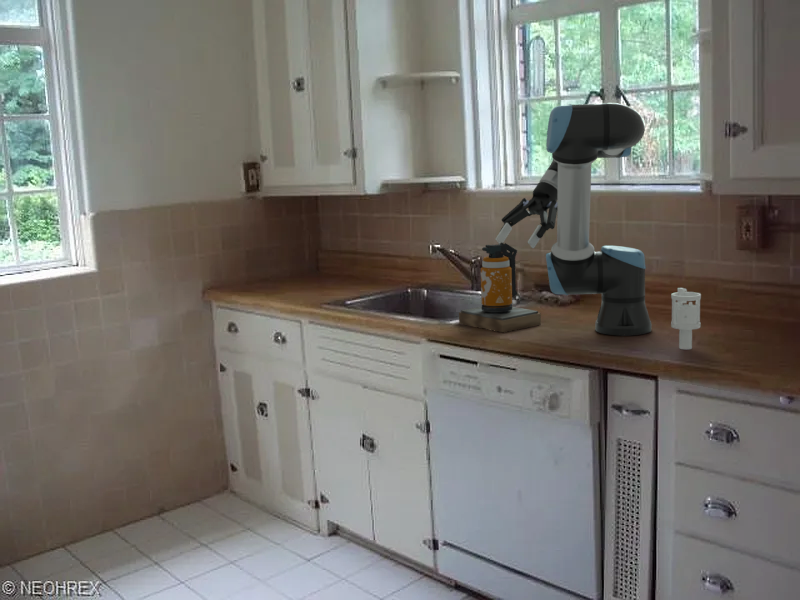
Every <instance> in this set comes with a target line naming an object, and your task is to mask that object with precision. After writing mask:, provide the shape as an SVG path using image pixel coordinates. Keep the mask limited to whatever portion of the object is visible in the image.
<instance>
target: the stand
mask: <svg viewBox="0 0 800 600" xmlns="http://www.w3.org/2000/svg"><path fill="white" fill-rule="evenodd" d="M541 315H542V314H541V312H539V311H538V310H533V309H528V308H522V307H516V306H512V310H509V311H508V312H505V313H487V312H486V311H483V310H482V306H479V307H478V306H477V307H472V308H467V309H462V310H461V311H460V312H458V324H459V325H463V326H464V325H465V326H469V327H473V328H477V327H479V329H482V328H486V329H485V330H487V329H491V330H490V331H492V330H495V331H494V332H497V331H500V332H499V333H501V332H504V333H508V332H507V331H509V332H513V331H512V330H514V331H518V330H523V329H527V328H531V327H536V326H540V325H542V319H541V317H542V316H541ZM517 329H518V330H517Z"/></svg>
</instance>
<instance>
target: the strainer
mask: <svg viewBox="0 0 800 600" xmlns="http://www.w3.org/2000/svg"><path fill="white" fill-rule="evenodd" d="M670 296H671V297H670V299H671V323H670V327H671V328H672V329H675V330H679V331H678V332H679V333H678V340H679V341H678V343H679V344H678V347H679V348H678V349H679V350H680V349H681V350H687V351H688V350H692V349H693V330H698V329H700V328H701V299H702V294H701V292H694V291H688V289H687V288H684V287H677V292H673V293H671V295H670ZM694 301H695V303H694V304H693V302H694ZM687 303H688V304H687Z"/></svg>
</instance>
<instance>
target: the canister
mask: <svg viewBox="0 0 800 600" xmlns="http://www.w3.org/2000/svg"><path fill="white" fill-rule="evenodd" d="M481 250H482V251H483V252H485V253H486V254H488V255H487V256H484V257H483V258H482V260H481V261H482V262H481V265H482V267H481V268H480V297H481V300H480V301H481V302H480V303H481V307H482V310H483V311H486V312H487V313H505V312H508V311H509V310H512V307H513V298H515V297H516V295H517V294H518V292H517V290H516V289H517V287H516V282H517V281H516V268H517V266H516V256H517V253H518V250H517V249H516V248H514V247H512V246H511V245H509V244H508V243H506V242H505V243H504V242H503V243H502V242H501V243H500V244H499V243H498V244H486V245H485V246H483V247H482V248H481Z"/></svg>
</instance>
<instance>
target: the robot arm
mask: <svg viewBox="0 0 800 600" xmlns="http://www.w3.org/2000/svg"><path fill="white" fill-rule="evenodd" d="M547 124H548V125H547V131H546V141H545V142H546V152H548V153H550V154H551V159H552V161H551V163H550V165H549V166H548V167H547V169H546V170H545V172H544V174H543V175H542V177H541V178H540V179H539V182H538V183H537V184H536V186H535V188H534V189H533V191H532V197H531V199H527V198H526V197H523V198H522V199H521V200H520V201H519V203H518V204H517V205H516V206H515V207H513V208H512V209H511V210H510V211H509V212H508V213H507V214H505V215H504V217H502V218H501V221H502V223H503V225H502V227H501V229H500V230H499V233H498V234H497V236H496V237H495V239H494V240H495V241H496V242H497V243H498V244H500V243H501V242H502V243H503V244H504V242H505V241H506V239H507V238H508V236H509V234H510V232H512V230H513V226H515V225H517V224H518V223H519V222H521V221H522V220H523V219H525V218H527V217H531V216H532V215H533V216H534V215H536V216H539V219H540V220H539V221H540V222H539V224H538V225H537V226H536V228H535V230H534V231H533V232H532V234H531V236H529V237H530V238H528V240H527V244H528V245H529V246H530V248H531V249H535V247H536V246H537V244H538V243H539V242H540V239H542V238H543V236H544V235H545V233H546V232H547V231H549V230H550V229H551V230H554V229H555V226H556V225H557V226H556V242H555V243H553V244H552V246H551V251H550V252H547V253H546V254H545V261H546V268H547V274H548V276H547V277H548V281H549V288H550V291H551V292H552V293H553V294H555V295H564V296H568V295H592V294H593V295H596V294H597V295H598V294H601V305H600V307H599V310H598V313H597V318H596V320H595V331H596V332H597V333H599V334H603V335H609V336H619V337H621V336H639V335H645V334H648V333H651V332H652V320H651V319H650V316H649V312H648V308H647V306H646V305H647V304H646V269H647V267H646V258H645V254H644V252H643V251H642V250H641V249H637V248H634V247H628V246H619V245H602V246H601V248H600V251H595V247H594V245H593V244H592V243H591V242H590V224H591V223H590V221H591V195H592V194H591V193H592V191H591V190H592V189H591V188H592V164H593V163H594V162H595V161H597V160H598V159H606V158H607V159H609V158H611V159H612V158H616V159H620V158H626V157H629V156H630V155H631V152H632V147H635V146H636V145H637V144H638V143H639V142H640V141H641V140H642V139H643V137H644V135H645V130H646V125H645V121H644V119H643V116H642V115H641V113H639V112H638V111H637V110H635V109H633V107H630V106H628V105H625V104H621V103H617V102H607V103H605V102H604V103H602V102H601V103H581V104H578V103H577V104H572V103H569V104H564V105H557V106H555V107H553V108H552V109H551V111H550V113H549V118H548V123H547ZM556 221H557V222H556Z"/></svg>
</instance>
